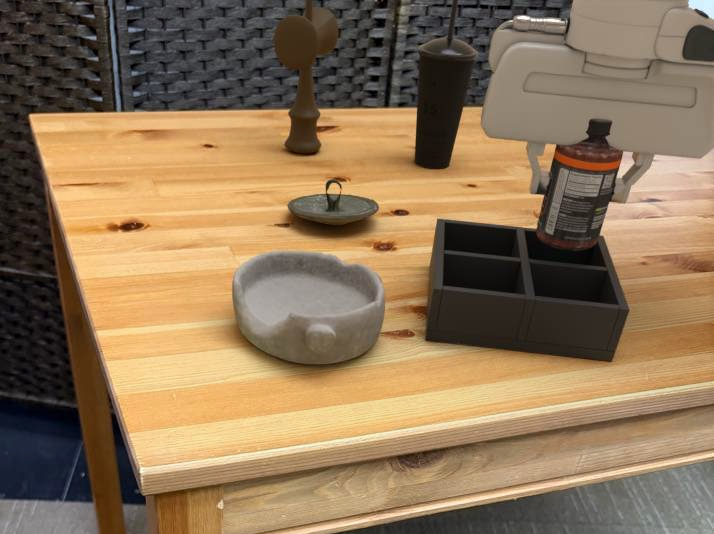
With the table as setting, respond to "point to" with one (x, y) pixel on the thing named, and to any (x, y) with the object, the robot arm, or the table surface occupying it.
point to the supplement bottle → (579, 190)
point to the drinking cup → (441, 95)
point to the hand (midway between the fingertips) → (577, 197)
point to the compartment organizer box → (522, 292)
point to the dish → (308, 306)
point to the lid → (333, 207)
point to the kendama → (305, 68)
